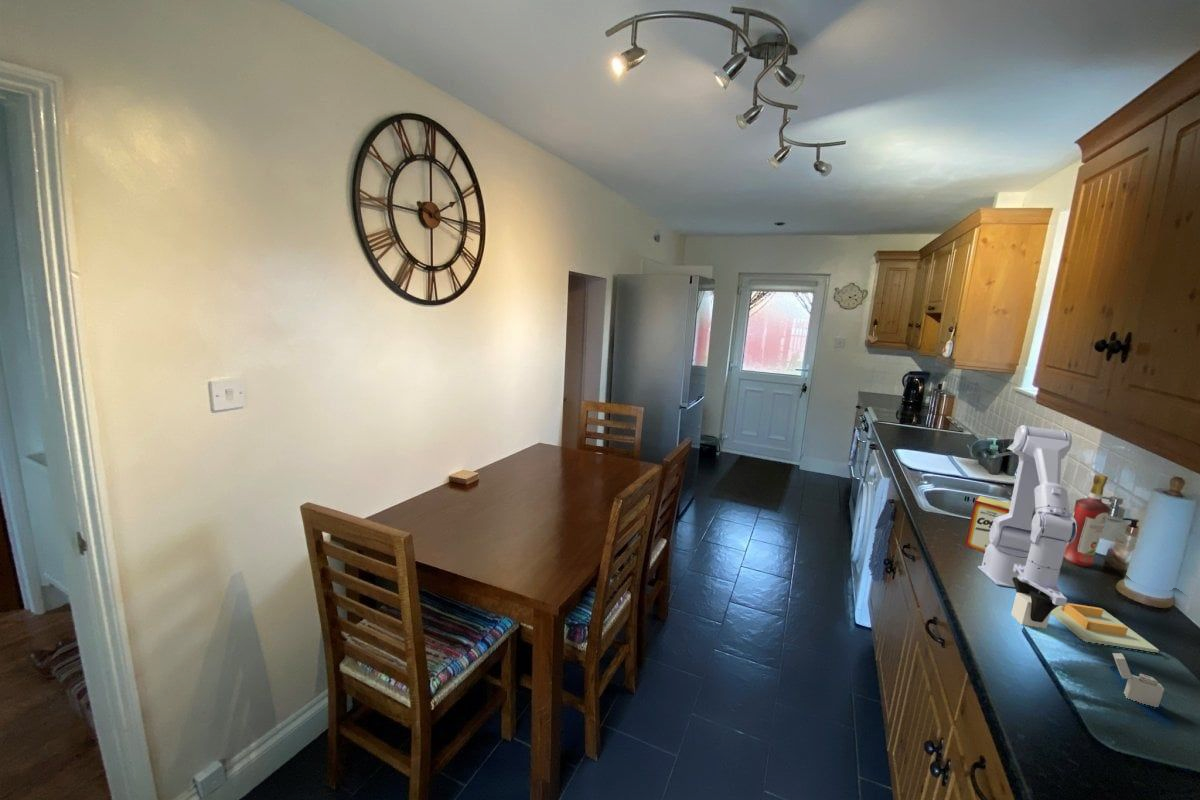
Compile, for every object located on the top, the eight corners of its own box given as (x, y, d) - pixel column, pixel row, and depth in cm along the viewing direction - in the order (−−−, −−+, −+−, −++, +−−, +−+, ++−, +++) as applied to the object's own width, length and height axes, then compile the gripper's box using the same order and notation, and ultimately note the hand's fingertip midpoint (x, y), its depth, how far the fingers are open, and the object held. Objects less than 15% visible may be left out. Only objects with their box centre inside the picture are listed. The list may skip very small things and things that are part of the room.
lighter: (1154, 703, 89) (1166, 666, 88) (1157, 709, 88) (1170, 672, 86) (1101, 685, 93) (1112, 650, 92) (1104, 690, 92) (1116, 655, 90)
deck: (1037, 602, 121) (1040, 591, 120) (1101, 612, 118) (1104, 601, 118) (1083, 641, 106) (1087, 630, 106) (1157, 653, 104) (1161, 642, 103)
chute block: (1010, 614, 115) (1016, 592, 114) (1034, 618, 114) (1040, 595, 113) (1021, 624, 111) (1027, 602, 110) (1046, 628, 110) (1052, 605, 109)
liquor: (1076, 556, 147) (1099, 472, 142) (1101, 569, 140) (1127, 480, 135) (1053, 555, 147) (1076, 470, 141) (1077, 568, 140) (1102, 479, 134)
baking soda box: (964, 546, 150) (975, 499, 147) (968, 540, 154) (979, 494, 151) (1002, 558, 143) (1014, 509, 140) (1005, 552, 147) (1017, 504, 144)
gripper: (1004, 545, 117) (992, 594, 120) (1046, 576, 103) (1031, 631, 106) (1037, 550, 116) (1024, 599, 119) (1083, 582, 102) (1067, 637, 105)
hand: (1029, 614), depth 112 cm, fingers closed on chute block, 4 cm apart
